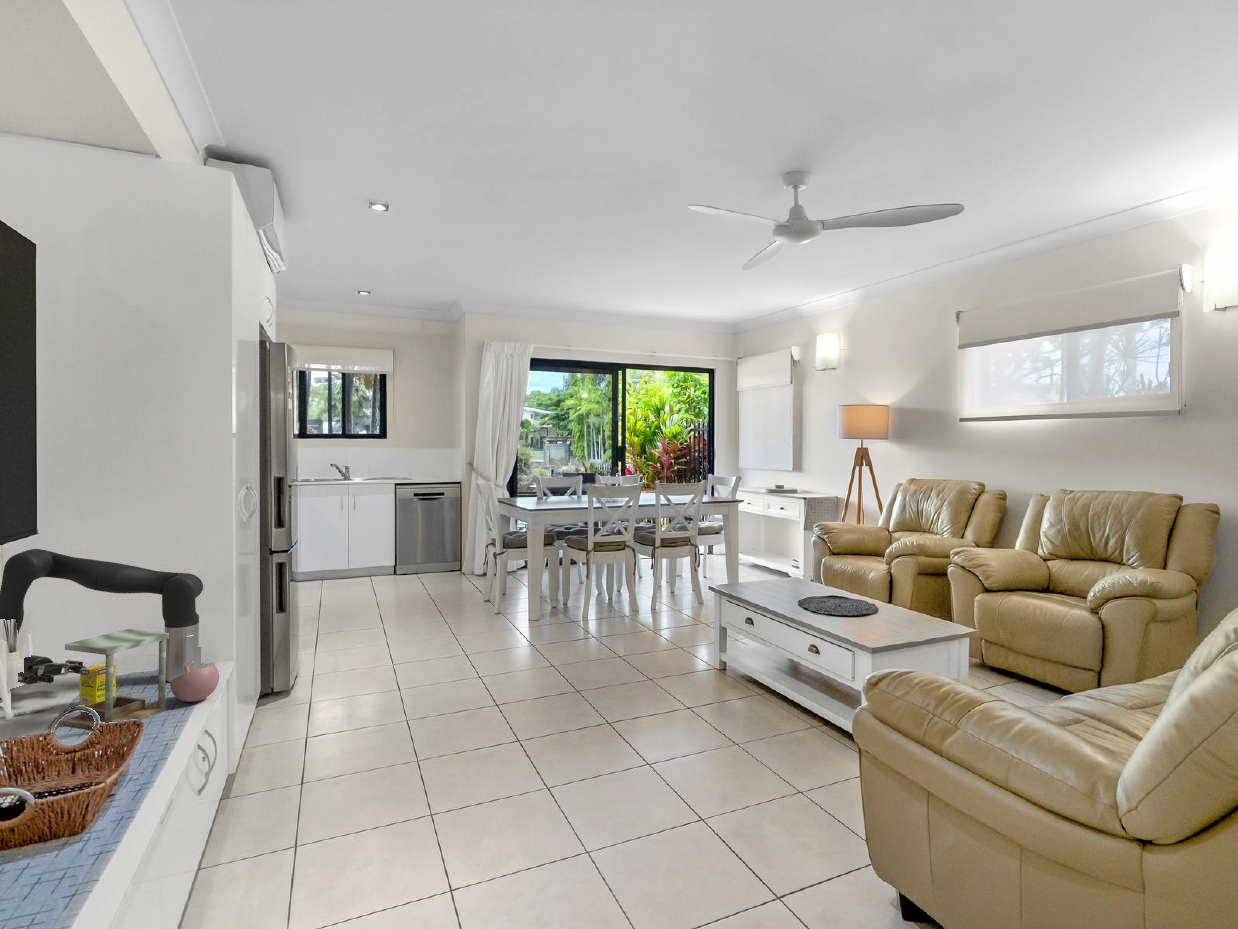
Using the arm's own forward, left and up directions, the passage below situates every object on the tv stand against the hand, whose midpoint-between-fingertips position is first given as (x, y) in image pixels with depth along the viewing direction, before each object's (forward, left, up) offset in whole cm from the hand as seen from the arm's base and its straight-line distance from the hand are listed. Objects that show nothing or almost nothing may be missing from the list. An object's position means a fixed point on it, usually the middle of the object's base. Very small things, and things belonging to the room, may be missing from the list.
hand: (68, 674), depth 189 cm
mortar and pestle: (-11, +34, -8) cm, 37 cm away
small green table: (+5, +24, -7) cm, 26 cm away
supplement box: (0, +11, -8) cm, 14 cm away
